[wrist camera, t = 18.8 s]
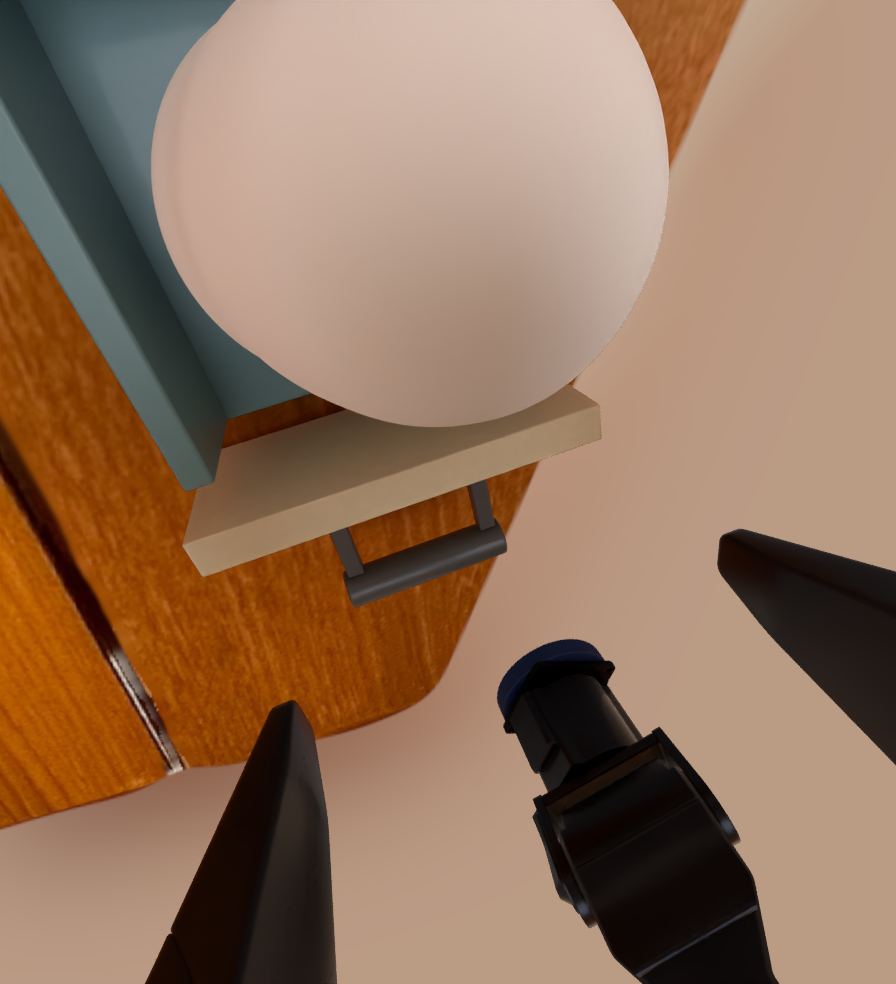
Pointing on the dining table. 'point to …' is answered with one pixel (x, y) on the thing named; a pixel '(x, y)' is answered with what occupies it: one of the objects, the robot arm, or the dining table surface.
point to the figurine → (415, 195)
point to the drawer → (196, 337)
